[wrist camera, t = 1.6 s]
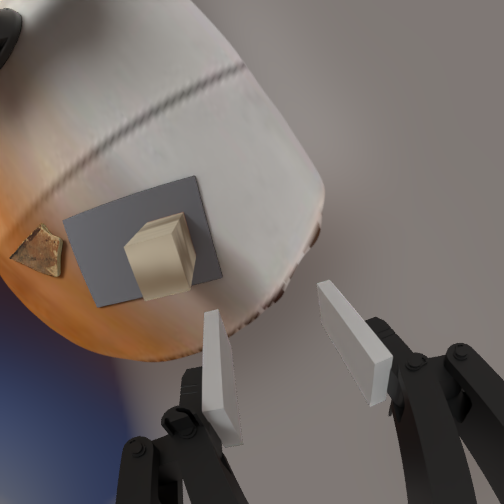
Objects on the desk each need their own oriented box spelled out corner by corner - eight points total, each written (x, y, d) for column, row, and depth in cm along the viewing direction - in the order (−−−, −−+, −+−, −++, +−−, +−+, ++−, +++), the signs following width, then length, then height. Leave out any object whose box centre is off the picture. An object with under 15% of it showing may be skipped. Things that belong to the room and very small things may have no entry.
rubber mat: (64, 219, 33) (62, 220, 32) (194, 175, 33) (194, 175, 33) (98, 305, 37) (97, 307, 37) (222, 276, 38) (222, 277, 38)
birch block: (147, 222, 34) (123, 247, 25) (183, 211, 34) (171, 233, 25) (161, 264, 36) (144, 301, 27) (196, 255, 36) (190, 290, 27)
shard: (13, 255, 33) (8, 259, 32) (15, 211, 31) (9, 213, 29) (61, 275, 36) (56, 280, 34) (66, 229, 34) (60, 232, 32)
